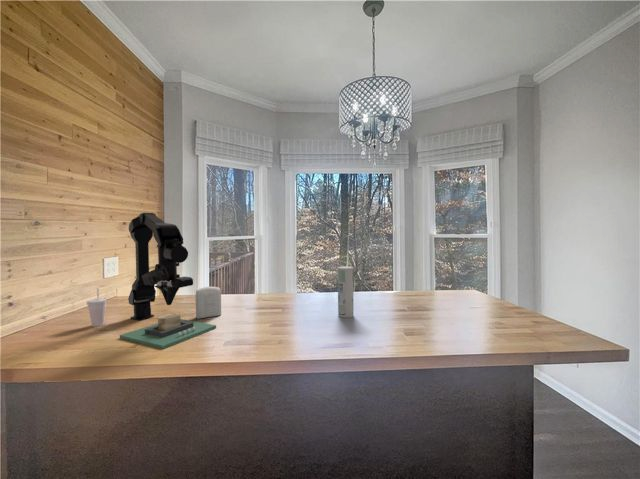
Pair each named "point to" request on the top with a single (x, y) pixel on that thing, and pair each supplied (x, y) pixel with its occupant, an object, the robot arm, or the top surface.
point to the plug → (168, 321)
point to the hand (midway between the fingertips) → (169, 304)
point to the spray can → (345, 291)
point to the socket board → (167, 334)
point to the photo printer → (208, 302)
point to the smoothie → (97, 310)
